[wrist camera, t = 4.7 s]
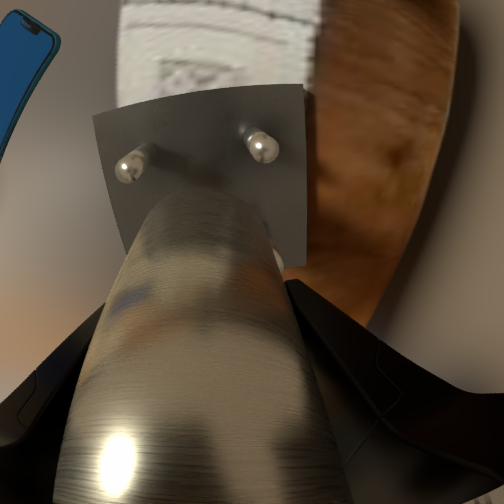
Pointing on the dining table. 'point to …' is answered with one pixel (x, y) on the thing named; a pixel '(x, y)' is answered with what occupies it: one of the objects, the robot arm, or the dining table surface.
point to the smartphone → (21, 66)
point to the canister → (199, 374)
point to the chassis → (212, 157)
